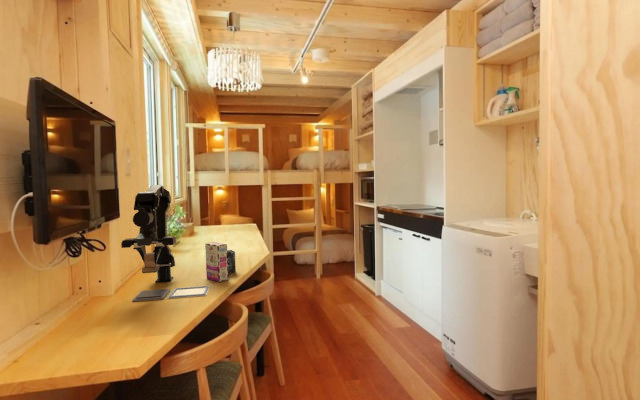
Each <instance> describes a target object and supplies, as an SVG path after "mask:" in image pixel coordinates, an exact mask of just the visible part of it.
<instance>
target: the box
mask: <svg viewBox="0 0 640 400" xmlns="http://www.w3.org/2000/svg"><path fill="white" fill-rule="evenodd" d="M227 259H228V260H227V261H228V275H229V274H235V273H236V270H237V269H236V251H234V250H233V249H227Z"/></svg>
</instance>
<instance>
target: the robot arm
mask: <svg viewBox="0 0 640 400" xmlns="http://www.w3.org/2000/svg"><path fill="white" fill-rule="evenodd" d="M171 203H172V195H171V193H170V191H168V190H167V189H166V188H165V187H164V185H162V184H153V185H150V186H149V188H148V189H147V190H146V191H138V192H137V194H136V195H135V197H134V205H133V210H134V211H137V212H135V213H134V214H133V217H132V222H133V224H134V225H135V227H136V226H137V227H139V232H138V234H137V236H136V237H133V238H131V237H130V238H125V239H123V240H122V241H121V242H120V246H121V248H122V249H125V248H131V247H132V246H133V247H132V248H133V250H136V251H137V252H138V253H139V255H140V257H141V259H142V261H143V264H144V265H145V263H144V254H146V253H147V249H146V247H148V246H151V245H154V244H155V246H154V247H153V250H152V253H155V259H154V260H155V264H156V265H159V270H158V271H157V272H156V273H157V276H156V279H155V283H162V282H163V283H164V282H171V281H172V280H173V279H174V276H172V271H171V270H172V269H171V268H174V267H176V260H175V256H174V255H173V253H172V250H171V247H170V246H174V245H175V244H177V238H176V236H175V235H173V236H169V235H168V225H167V222H168V221H167V220H168V219H167V218H168V217H167V212H168V211H169V210H170V209H171Z"/></svg>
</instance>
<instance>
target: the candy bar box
mask: <svg viewBox="0 0 640 400" xmlns="http://www.w3.org/2000/svg"><path fill="white" fill-rule="evenodd" d="M227 250H228V244H227V243H220V242H215V241H214V242H206V243H205V270H206V279H207V280H212V281H214V282H218V283H220V282H221V283H222V282H224V281H225V282H226V281H228V280H229V274H228V261H227V260H228V259H227Z"/></svg>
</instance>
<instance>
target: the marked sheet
mask: <svg viewBox="0 0 640 400" xmlns="http://www.w3.org/2000/svg"><path fill="white" fill-rule="evenodd" d="M210 288H211V285H210V286H209V285H203V286H202V285H201V286H199V285H198V286H189V287H188V286H187V287H185V286H184V287H175V288H174V289H173V290H172V291H171V292H170V294H168V297H167V298H166V300H171V299H181V298H196V297H206V296H207V295H208V292H209V291H210Z"/></svg>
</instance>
